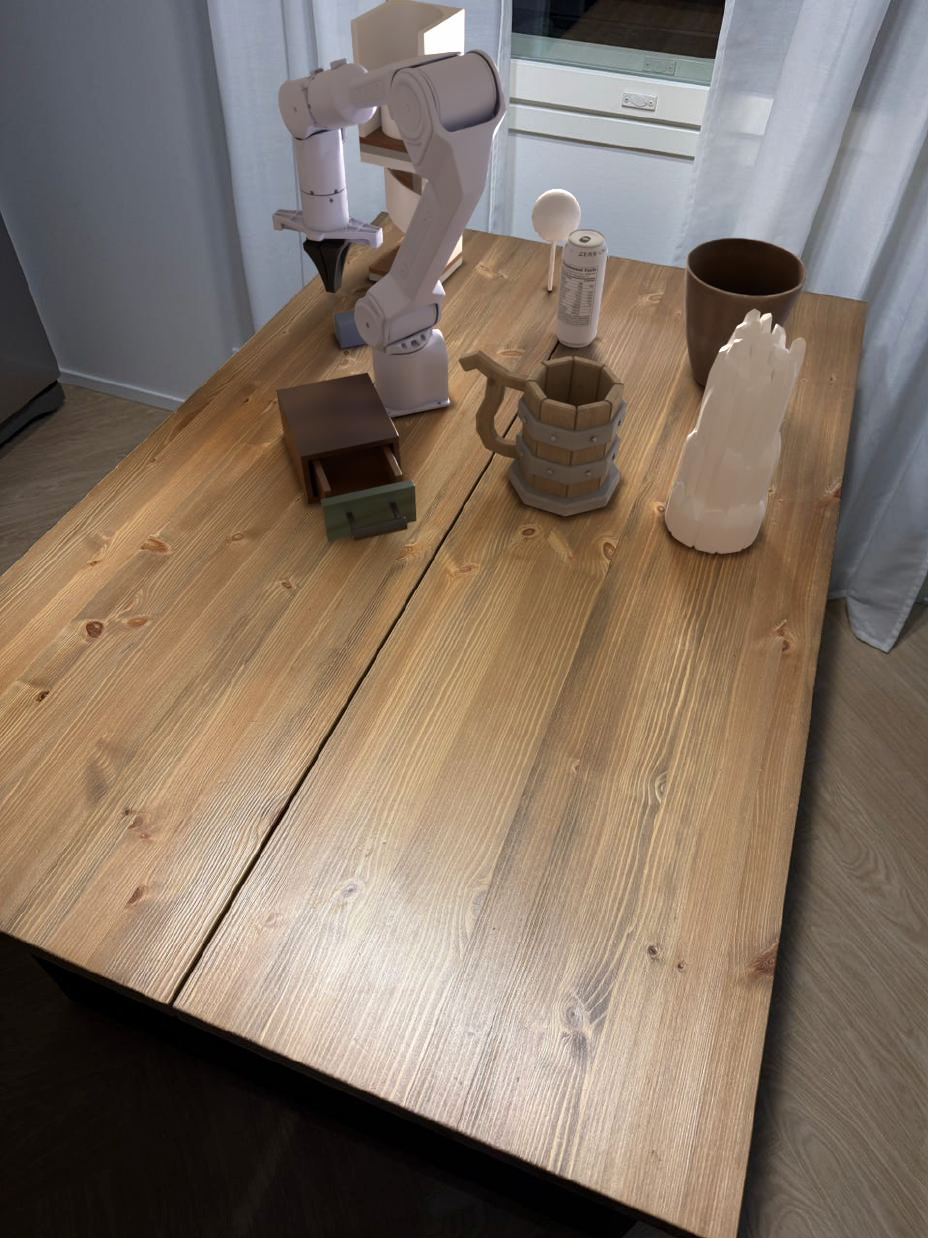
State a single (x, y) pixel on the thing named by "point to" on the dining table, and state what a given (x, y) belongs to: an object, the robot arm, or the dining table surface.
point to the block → (347, 329)
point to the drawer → (363, 493)
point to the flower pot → (735, 293)
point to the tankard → (556, 430)
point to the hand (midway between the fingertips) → (333, 288)
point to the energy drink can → (580, 287)
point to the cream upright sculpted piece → (735, 440)
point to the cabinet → (333, 422)
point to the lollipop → (555, 220)
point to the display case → (376, 44)
